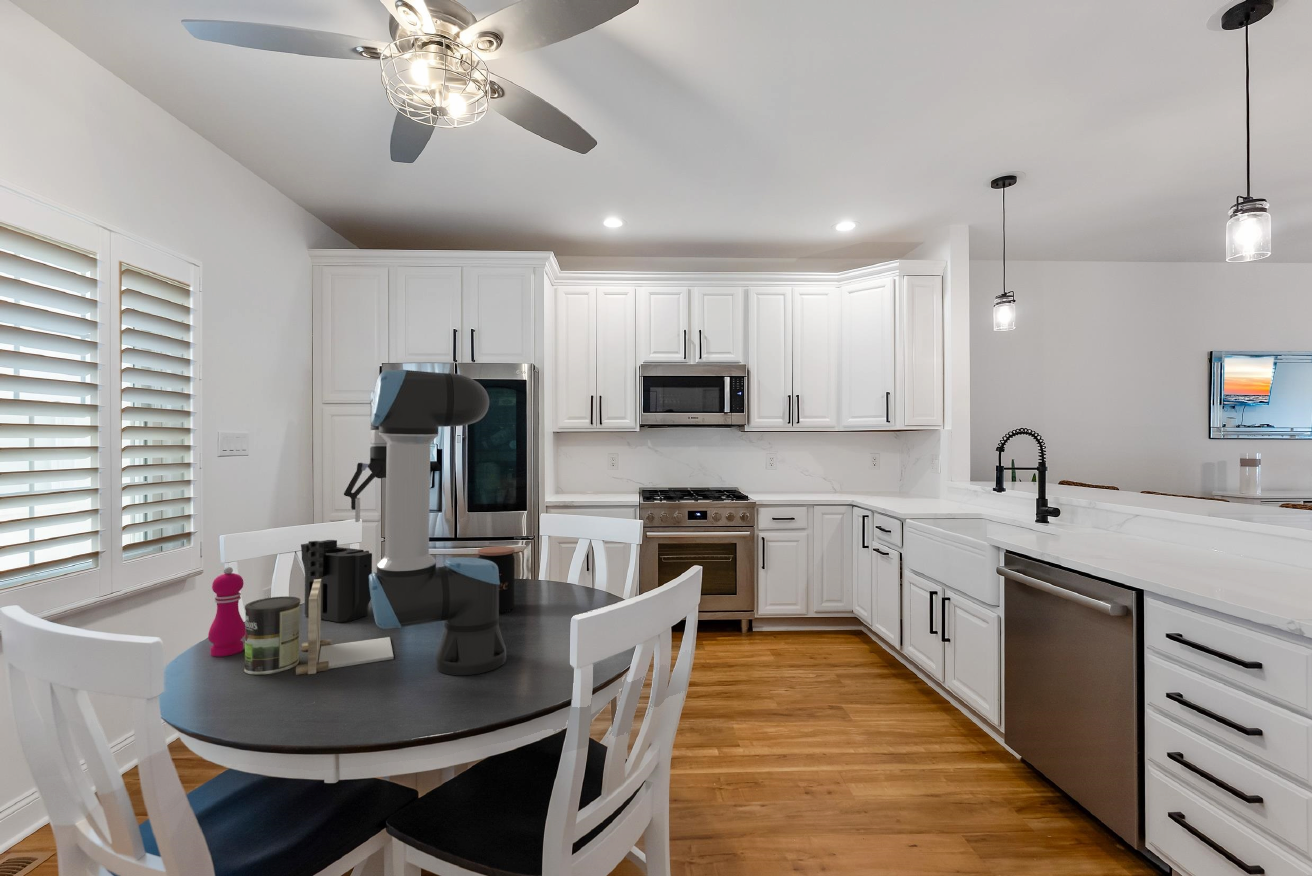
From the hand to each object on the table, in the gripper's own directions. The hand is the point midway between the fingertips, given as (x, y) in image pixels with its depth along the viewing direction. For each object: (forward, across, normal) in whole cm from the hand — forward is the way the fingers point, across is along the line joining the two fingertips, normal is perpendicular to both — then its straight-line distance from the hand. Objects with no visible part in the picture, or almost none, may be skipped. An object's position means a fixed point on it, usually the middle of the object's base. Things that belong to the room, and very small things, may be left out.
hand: (384, 520), depth 165 cm
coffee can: (+28, +18, +31) cm, 46 cm away
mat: (+28, +2, +28) cm, 40 cm away
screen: (+28, +11, +29) cm, 41 cm away
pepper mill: (+28, +31, +18) cm, 46 cm away
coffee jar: (+28, -30, 0) cm, 41 cm away
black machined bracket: (+28, +13, -5) cm, 31 cm away
